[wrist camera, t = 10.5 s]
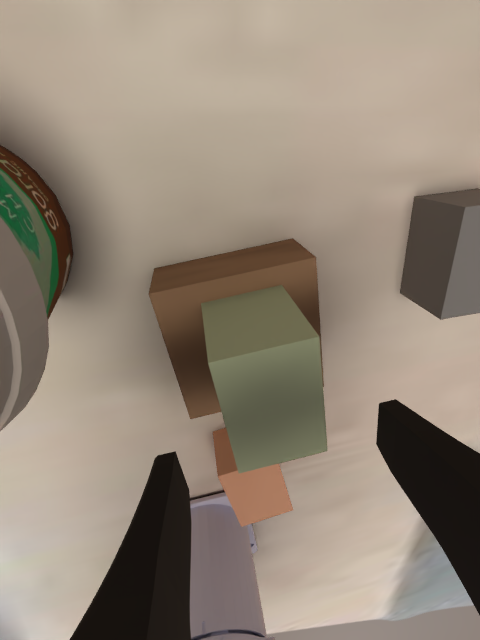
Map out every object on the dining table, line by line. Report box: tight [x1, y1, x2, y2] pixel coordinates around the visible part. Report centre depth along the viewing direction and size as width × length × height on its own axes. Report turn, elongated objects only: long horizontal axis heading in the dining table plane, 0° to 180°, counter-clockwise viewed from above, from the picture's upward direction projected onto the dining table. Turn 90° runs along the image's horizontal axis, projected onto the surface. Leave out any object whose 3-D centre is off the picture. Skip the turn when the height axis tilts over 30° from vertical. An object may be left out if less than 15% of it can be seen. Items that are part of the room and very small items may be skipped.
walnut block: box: [149, 239, 324, 419], centre depth 19 cm, size 8×8×4 cm
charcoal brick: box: [400, 189, 480, 319], centre depth 19 cm, size 6×4×4 cm, turn 5°
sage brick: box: [201, 285, 327, 474], centre depth 15 cm, size 6×4×5 cm, turn 10°
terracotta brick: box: [213, 428, 293, 527], centre depth 25 cm, size 6×4×4 cm, turn 15°
